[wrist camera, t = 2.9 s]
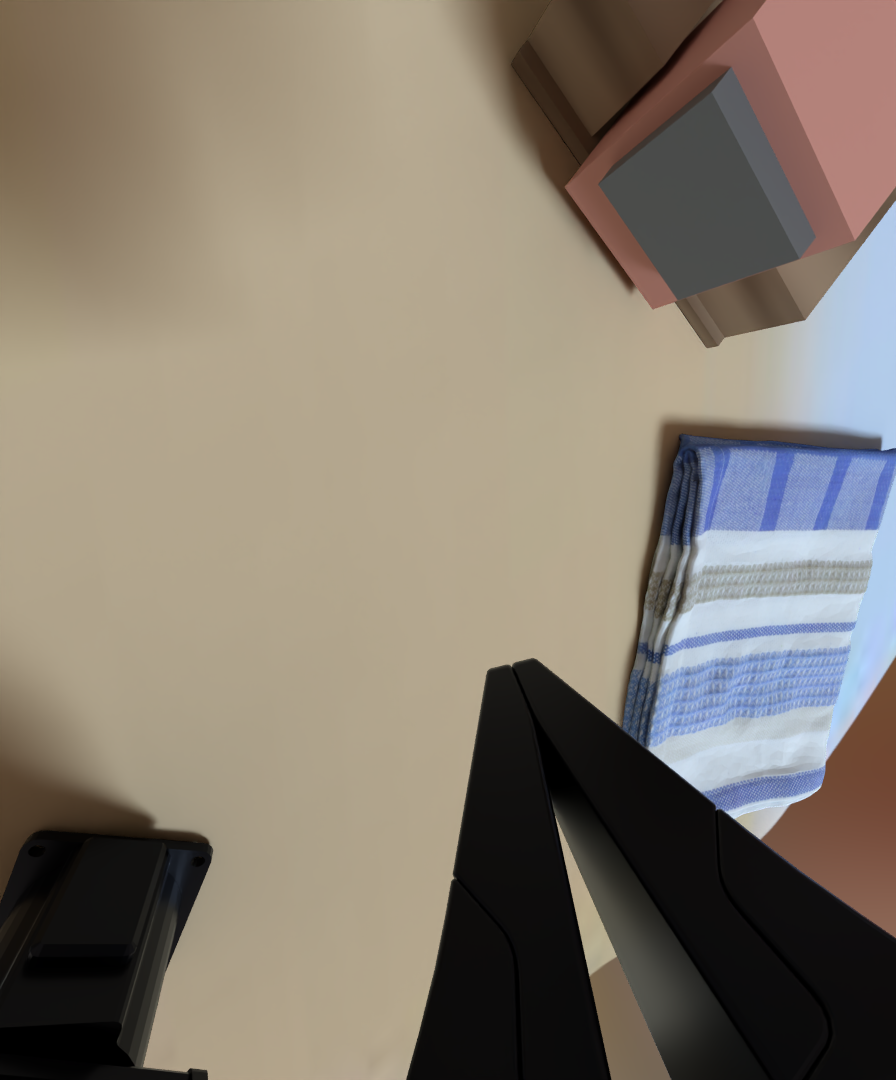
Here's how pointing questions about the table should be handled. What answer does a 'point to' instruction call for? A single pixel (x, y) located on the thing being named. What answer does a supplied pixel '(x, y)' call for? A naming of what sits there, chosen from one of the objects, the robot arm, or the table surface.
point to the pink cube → (749, 146)
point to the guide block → (603, 94)
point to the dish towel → (754, 613)
